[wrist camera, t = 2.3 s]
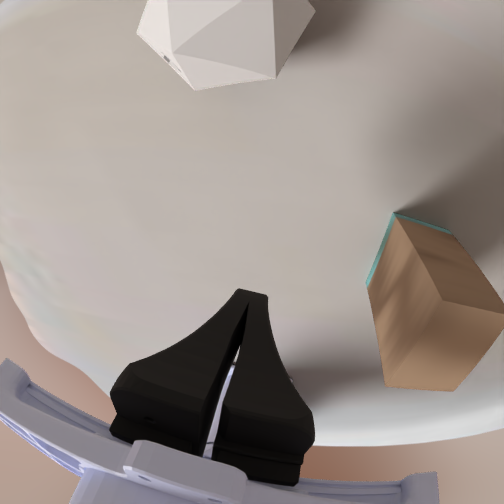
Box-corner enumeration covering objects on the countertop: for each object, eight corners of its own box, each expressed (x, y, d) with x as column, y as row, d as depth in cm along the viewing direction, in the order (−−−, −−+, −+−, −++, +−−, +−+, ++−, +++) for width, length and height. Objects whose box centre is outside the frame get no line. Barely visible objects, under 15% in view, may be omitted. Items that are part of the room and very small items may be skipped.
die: (180, -12, 14) (80, 48, 11) (269, -81, 8) (166, -73, 5) (250, 62, 19) (181, 143, 16) (350, 16, 13) (313, 84, 9)
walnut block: (418, 294, 22) (453, 391, 13) (365, 282, 22) (385, 386, 14) (448, 230, 19) (511, 315, 10) (392, 212, 19) (442, 300, 11)
